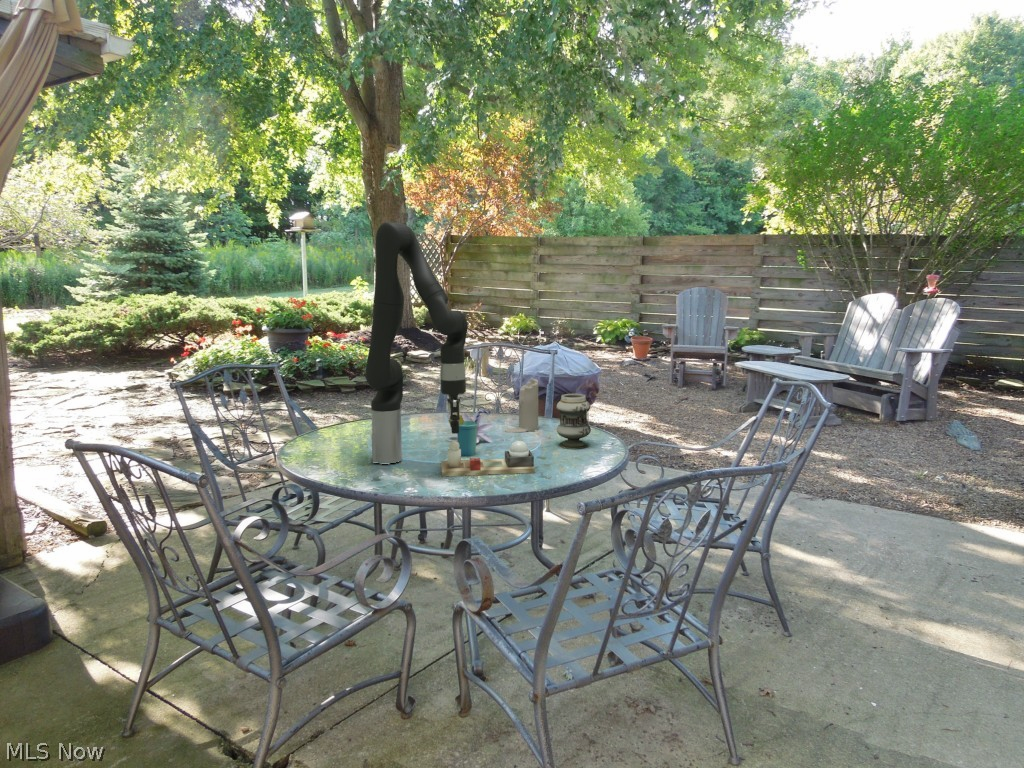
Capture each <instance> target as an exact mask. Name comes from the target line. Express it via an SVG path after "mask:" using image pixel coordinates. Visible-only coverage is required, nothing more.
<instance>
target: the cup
mask: <svg viewBox="0 0 1024 768" xmlns="http://www.w3.org/2000/svg"><path fill="white" fill-rule="evenodd" d="M481 414H487V415H491V411H488V410H485V409H484V410H483V409H481V410H479V411H478V414H477V416H476V419H475V422H474V421H464V419H463V416H462V414H461V413H460V414H459V417H460V420H459V433H457V434H456V435H457V436H456V437H457V442H458V443H459V449H461V455H462V456H461V457H473V455H474V456H475V455H476V452H477V443H476V439H477V427H478V424H479V423H477V421H478V418H479V415H481ZM450 416H451V415H449V418H448V423H449V424H450Z"/></svg>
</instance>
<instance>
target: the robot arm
mask: <svg viewBox="0 0 1024 768" xmlns="http://www.w3.org/2000/svg"><path fill="white" fill-rule="evenodd" d="M399 256H401V257H402V259H403V260H404V261H405V262H406V264H407V265H408V267H409V269H410V272H411V275H412V281H413V284H414V287H415V289H416V292H417V293H418V295H419V297H420V298H421V301H423V303H424V304H425V306H426V308H427V309H428V314H429V315H430V316H429V317H430V319H431V321H432V324H433V327H434V329H435V330H436V331H437V332H438V333H439V334H441V335H443V336H446V340H445V342H444V343H443V344H442V345H441V346H440V370H439V372H440V374H439V375H440V392H441V394H443V395H446V396H448V398H446V405H447V411H448V415H449V418H450V423H449V425H450V428H451V433H452V434H455V435H457V433H459V420H460V417H459V414H460V415H461V401H462V400H461V398H460V397H459V395H462V394H465V393H466V392H467V386H466V385H467V384H466V383H467V381H466V380H467V379H466V366H465V350H464V348H465V345H466V340H467V339H466V338H467V334H468V324H469V323H468V319H467V317H466V314H464V312H462V311H461V310H450V309H449V308H448V305H447V304H448V302H449V296H448V294H447V292H446V291H445V289H444V288H443V286H442V285H441V284H440V281H438V279H437V277H436V276H435V273H434V272H433V270H432V269H431V267H430V265H429V263H428V261H427V258H426V257H425V254H424V253H423V250H422V248H421V245H420V243H419V241H418V239H417V237H416V235H415V233H414V230H413V229H412V228H411V227H410V226H409V225H407V224H404V223H399V222H392V221H386V222H385V221H384V222H383V223H382V224H380V225H379V227H378V228H377V230H376V234H375V280H374V281H375V284H374V293H373V295H374V297H373V302H372V303H373V306H372V320H371V321H372V323H371V331H370V343H369V350H368V355H367V361H366V365H365V380H366V382H367V384H368V385H369V387H370V388H371V389H373V390H375V391H376V390H377V391H376V394H375V396H374V397H373V399H372V400H371V403H370V408H371V409H370V411H371V456H372V457H371V459H372V460H371V461H372V463H373V462H378V463H395V462H398V461H401V460H402V461H403V450H402V449H403V445H402V442H403V441H402V440H403V439H402V416H401V415H402V413H401V412H402V410H401V409H402V408H401V406H402V405H401V403H402V401H403V397H404V396H403V395H404V372H403V368H402V366H401V364H400V362H399V361H398V360H396V359H395V358H392V357H391V353H392V347H393V344H394V341H395V338H396V336H397V334H398V332H399V330H400V328H401V324H402V321H403V316H404V307H405V306H404V305H405V296H404V291H403V288H402V285H401V282H400V278H399V275H398V259H399V258H398V257H399ZM450 415H451V416H450ZM402 461H401V462H402Z"/></svg>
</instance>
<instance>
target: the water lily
mask: <svg viewBox="0 0 1024 768" xmlns="http://www.w3.org/2000/svg"><path fill="white" fill-rule="evenodd" d="M478 412H479V411H476V412H475V414H474V415H473V418H471V417H469V415H468V414H467V413H465V412H462V414H461V415H462V417H463V420H464V421H474V422H475V419H476V416H477V414H478ZM483 419H484V413H480V415H479V418H478V421H477V423H479V424H478V427H477V439H476V444H478V443H479V442H480V439H482V440H484V441H485V442H488V443H493V440H492V438H491V437H490V436H489V435H488V434H486V433H484V431H487V430H489V429H491V428H492V427H493V426H494V424H493V423H483V424H482V421H483Z"/></svg>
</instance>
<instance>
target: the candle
mask: <svg viewBox="0 0 1024 768" xmlns="http://www.w3.org/2000/svg"><path fill="white" fill-rule="evenodd" d="M518 399H519V401H518V403H519V404H518V407H519V409H518V426H517V427H512V428H507V429H503V430H502V431H503V432H505V431H507V432H506V433H510V432H509V431H512V432H511V433H527V432H526V431H532V432H536V431H535V430H537V431H538V430H539V404H540V403H539V380H538V379H536V378H533V377H530V381H527V382H526V384H524V385H522V386H521V387H520V391H519V397H518Z"/></svg>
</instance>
